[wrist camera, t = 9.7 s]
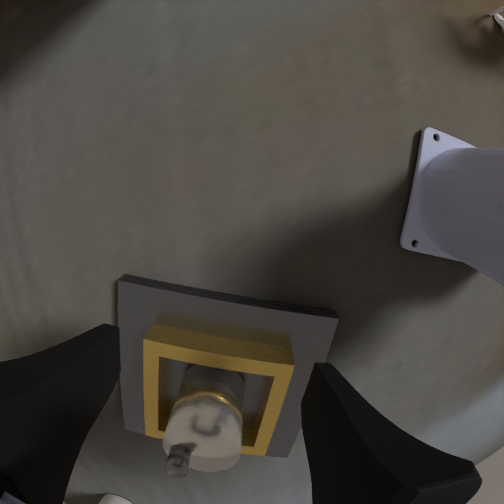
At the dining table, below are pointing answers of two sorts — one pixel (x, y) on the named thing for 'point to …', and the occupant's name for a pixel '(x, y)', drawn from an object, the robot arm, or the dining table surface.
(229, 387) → the spout can
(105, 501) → the soft serve ice cream cone
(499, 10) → the action figure
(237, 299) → the fill port
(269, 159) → the dining table surface
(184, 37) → the dining table surface
